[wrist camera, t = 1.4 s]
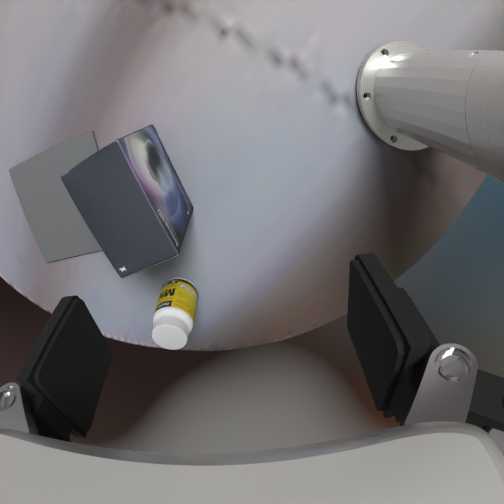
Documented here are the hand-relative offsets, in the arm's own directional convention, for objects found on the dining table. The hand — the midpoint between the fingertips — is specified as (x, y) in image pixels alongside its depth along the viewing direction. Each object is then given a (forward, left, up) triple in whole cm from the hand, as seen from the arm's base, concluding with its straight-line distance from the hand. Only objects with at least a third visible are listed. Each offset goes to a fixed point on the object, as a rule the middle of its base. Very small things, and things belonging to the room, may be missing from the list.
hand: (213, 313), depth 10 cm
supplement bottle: (+10, +16, -24) cm, 30 cm away
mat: (+21, +1, -24) cm, 31 cm away
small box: (+9, +1, -24) cm, 25 cm away
